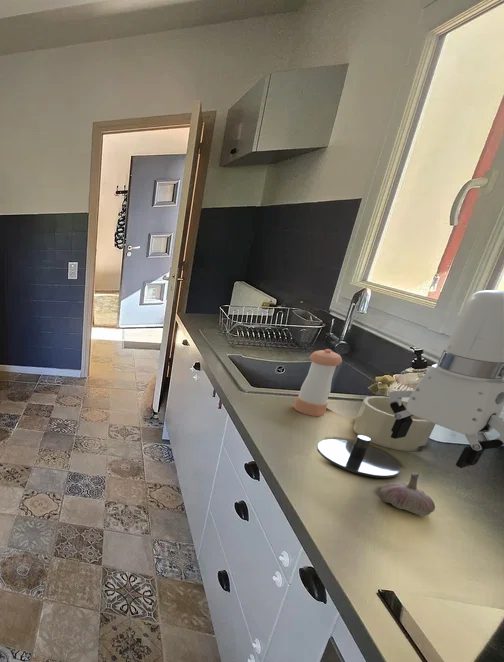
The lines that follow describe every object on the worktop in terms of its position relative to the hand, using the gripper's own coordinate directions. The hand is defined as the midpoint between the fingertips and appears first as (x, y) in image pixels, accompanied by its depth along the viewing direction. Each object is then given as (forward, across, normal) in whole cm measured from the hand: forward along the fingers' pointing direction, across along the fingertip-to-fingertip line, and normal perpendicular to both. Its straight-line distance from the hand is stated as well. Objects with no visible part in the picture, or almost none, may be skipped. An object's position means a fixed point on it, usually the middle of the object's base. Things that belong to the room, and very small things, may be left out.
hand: (428, 450), depth 71 cm
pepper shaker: (+13, +36, -22) cm, 44 cm away
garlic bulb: (+13, 0, 0) cm, 13 cm away
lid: (+13, +14, -8) cm, 21 cm away
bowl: (+13, +19, -27) cm, 36 cm away
